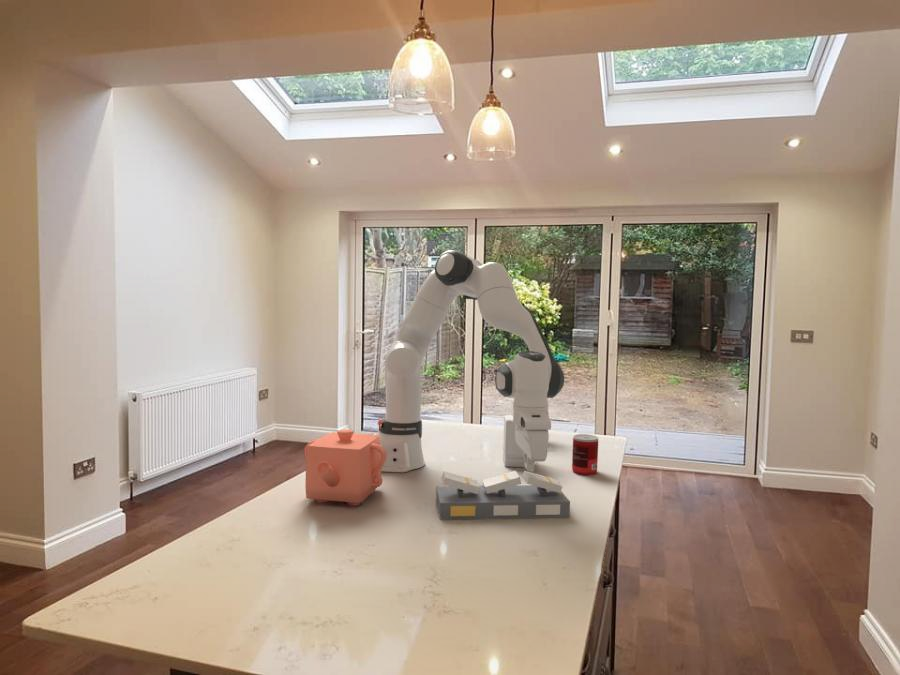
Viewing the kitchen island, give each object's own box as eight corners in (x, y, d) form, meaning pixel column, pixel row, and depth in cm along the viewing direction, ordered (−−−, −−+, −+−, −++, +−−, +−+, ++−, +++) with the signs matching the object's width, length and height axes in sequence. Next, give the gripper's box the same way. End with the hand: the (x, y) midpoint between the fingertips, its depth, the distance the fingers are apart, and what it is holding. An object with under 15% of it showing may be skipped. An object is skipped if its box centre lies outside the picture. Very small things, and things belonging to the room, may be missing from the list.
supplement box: (532, 467, 199) (534, 420, 197) (504, 467, 199) (505, 420, 198) (529, 460, 208) (531, 415, 207) (502, 459, 208) (503, 414, 207)
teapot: (365, 521, 150) (365, 447, 148) (277, 513, 154) (277, 441, 153) (395, 489, 174) (396, 426, 173) (318, 483, 179) (318, 421, 177)
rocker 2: (487, 493, 157) (485, 486, 156) (483, 486, 162) (481, 479, 162) (521, 483, 157) (519, 476, 157) (517, 477, 163) (515, 470, 163)
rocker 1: (443, 484, 155) (445, 477, 155) (441, 477, 161) (443, 470, 161) (477, 494, 156) (479, 486, 156) (474, 487, 162) (476, 479, 162)
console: (440, 519, 152) (440, 496, 152) (436, 501, 165) (436, 480, 165) (569, 517, 155) (570, 495, 155) (555, 499, 168) (556, 479, 168)
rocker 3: (526, 483, 157) (529, 476, 157) (522, 477, 163) (524, 469, 163) (560, 493, 159) (562, 485, 158) (554, 486, 164) (556, 479, 164)
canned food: (595, 468, 199) (596, 434, 198) (598, 476, 191) (600, 440, 190) (570, 467, 199) (571, 433, 199) (573, 475, 192) (574, 439, 191)
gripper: (510, 408, 169) (509, 459, 170) (527, 424, 149) (526, 481, 150) (533, 408, 170) (531, 458, 171) (553, 424, 150) (551, 481, 151)
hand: (529, 469), depth 160 cm, fingers closed
